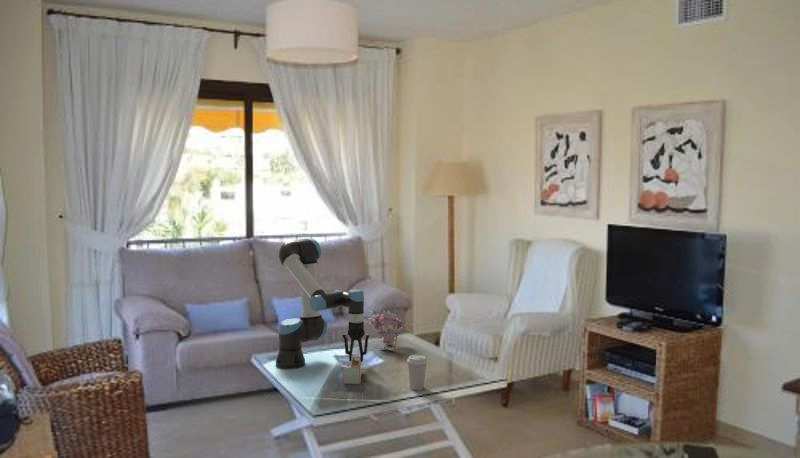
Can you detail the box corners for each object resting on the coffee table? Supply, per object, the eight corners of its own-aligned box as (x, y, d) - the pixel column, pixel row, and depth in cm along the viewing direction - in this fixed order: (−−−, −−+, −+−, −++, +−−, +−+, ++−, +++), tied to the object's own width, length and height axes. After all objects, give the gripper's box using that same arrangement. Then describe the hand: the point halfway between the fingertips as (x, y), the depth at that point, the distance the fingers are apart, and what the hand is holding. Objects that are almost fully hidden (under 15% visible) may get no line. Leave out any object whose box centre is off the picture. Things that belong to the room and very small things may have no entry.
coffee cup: (409, 392, 310) (409, 360, 309) (404, 385, 319) (405, 354, 318) (429, 391, 312) (429, 359, 310) (424, 384, 321) (424, 353, 320)
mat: (338, 382, 322) (338, 381, 322) (367, 383, 321) (367, 382, 321) (333, 392, 309) (333, 391, 309) (363, 393, 308) (363, 392, 308)
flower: (421, 345, 382) (407, 303, 387) (400, 350, 362) (386, 306, 368) (393, 355, 391) (380, 314, 397) (371, 361, 372) (358, 318, 377)
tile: (344, 381, 321) (343, 365, 318) (360, 381, 320) (360, 365, 317) (343, 384, 319) (342, 367, 316) (360, 384, 318) (359, 368, 315)
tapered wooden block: (350, 364, 338) (350, 354, 337) (366, 364, 337) (366, 354, 337) (344, 375, 320) (344, 365, 320) (361, 376, 319) (361, 365, 319)
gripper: (338, 322, 325) (338, 369, 328) (371, 323, 324) (371, 370, 326) (341, 318, 332) (341, 364, 335) (373, 319, 331) (373, 365, 334)
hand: (356, 367), depth 331 cm, fingers closed on tapered wooden block, 3 cm apart
